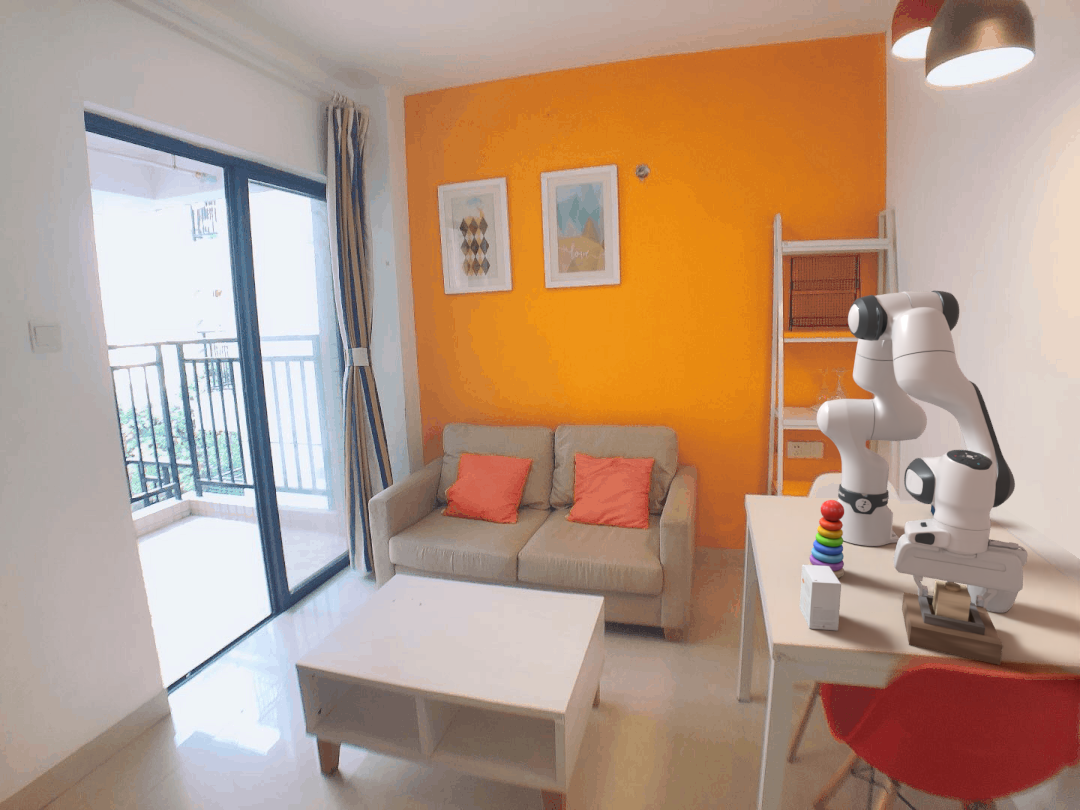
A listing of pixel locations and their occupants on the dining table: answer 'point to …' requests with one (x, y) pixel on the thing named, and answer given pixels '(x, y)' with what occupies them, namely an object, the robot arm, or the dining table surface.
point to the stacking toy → (829, 538)
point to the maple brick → (951, 600)
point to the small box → (820, 597)
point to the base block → (951, 630)
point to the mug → (998, 602)
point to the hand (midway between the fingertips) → (951, 600)
